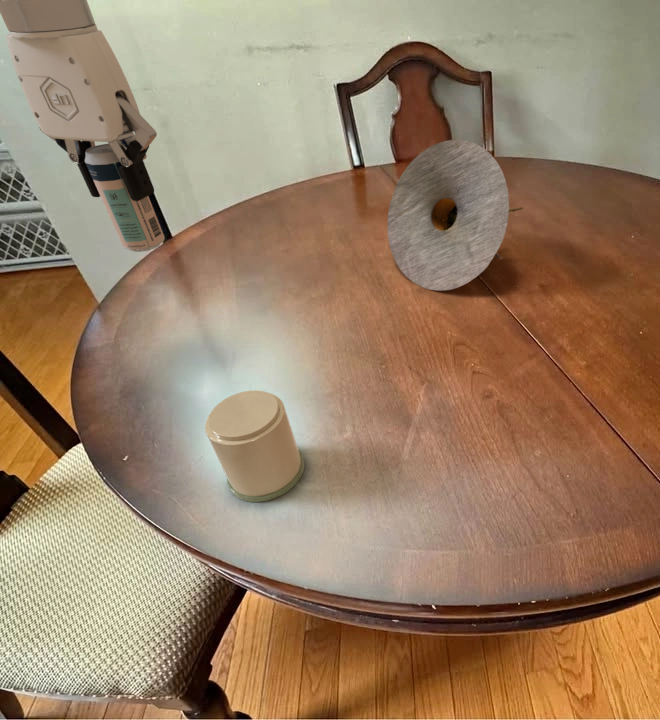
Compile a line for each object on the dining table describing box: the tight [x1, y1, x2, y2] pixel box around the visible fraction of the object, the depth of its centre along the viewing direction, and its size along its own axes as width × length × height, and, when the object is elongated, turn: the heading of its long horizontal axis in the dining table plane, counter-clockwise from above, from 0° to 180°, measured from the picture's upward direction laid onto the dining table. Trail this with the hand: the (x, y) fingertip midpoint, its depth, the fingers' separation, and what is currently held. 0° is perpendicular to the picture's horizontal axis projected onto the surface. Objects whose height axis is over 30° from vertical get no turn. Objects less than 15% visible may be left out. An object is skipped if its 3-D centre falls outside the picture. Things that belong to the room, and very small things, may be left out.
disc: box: [387, 139, 524, 291], centre depth 98 cm, size 25×18×25 cm
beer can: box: [85, 143, 166, 253], centre depth 67 cm, size 5×5×12 cm
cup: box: [204, 389, 305, 503], centre depth 61 cm, size 8×8×10 cm
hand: (123, 193), depth 66 cm, fingers closed on beer can, 4 cm apart
